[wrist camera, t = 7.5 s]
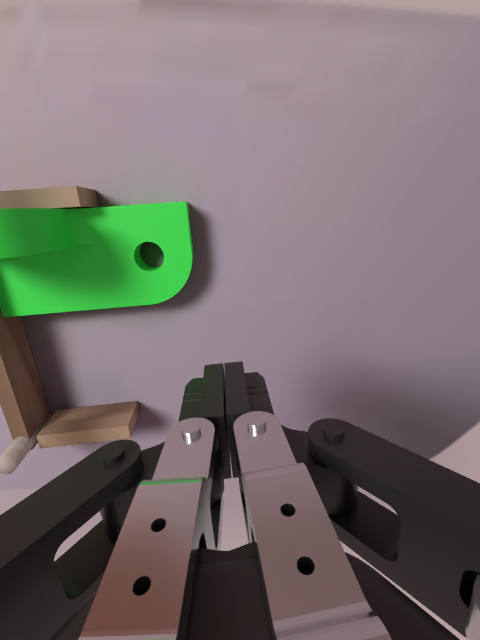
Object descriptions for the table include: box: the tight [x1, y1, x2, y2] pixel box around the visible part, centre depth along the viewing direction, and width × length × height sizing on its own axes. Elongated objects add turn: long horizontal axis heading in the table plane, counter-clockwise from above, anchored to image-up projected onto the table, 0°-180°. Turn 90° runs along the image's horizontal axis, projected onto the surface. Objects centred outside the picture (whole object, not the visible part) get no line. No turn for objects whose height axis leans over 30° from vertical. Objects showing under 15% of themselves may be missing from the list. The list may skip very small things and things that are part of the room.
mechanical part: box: [0, 202, 194, 317], centre depth 18 cm, size 12×6×8 cm, turn 94°
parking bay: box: [0, 186, 140, 474], centre depth 20 cm, size 8×16×5 cm, turn 4°
